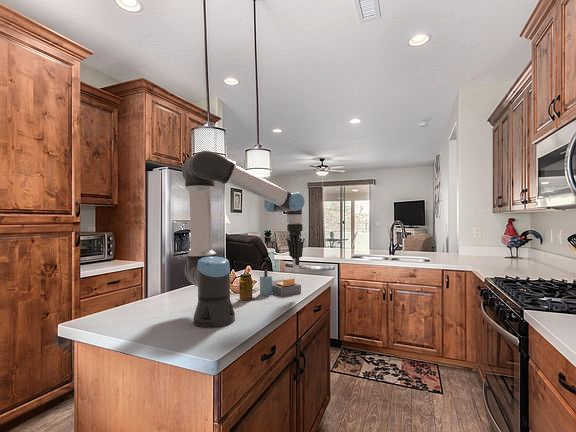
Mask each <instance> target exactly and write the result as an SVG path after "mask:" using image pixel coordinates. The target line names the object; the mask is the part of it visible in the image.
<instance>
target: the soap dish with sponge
mask: <svg viewBox="0 0 576 432" xmlns="http://www.w3.org/2000/svg"><path fill="white" fill-rule="evenodd" d="M283 280H284V279H278V280H272V294H274V295H277V296H280V297H283V296H291V295H295V294H301V293H302V284H298V283H296V285H289V286H280V285H277V284H275V283H278V282H283Z"/></svg>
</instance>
